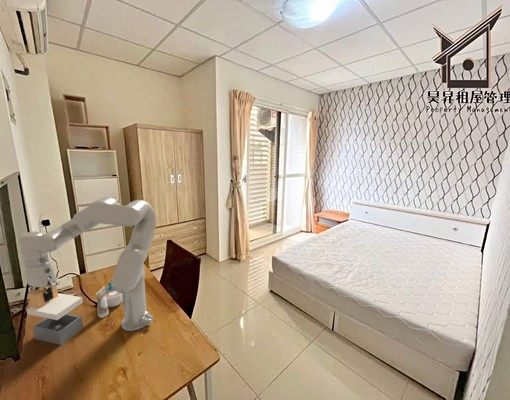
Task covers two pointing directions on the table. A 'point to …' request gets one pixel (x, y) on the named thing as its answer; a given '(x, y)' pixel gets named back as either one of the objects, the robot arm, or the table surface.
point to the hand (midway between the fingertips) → (44, 298)
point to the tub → (58, 329)
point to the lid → (52, 304)
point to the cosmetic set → (107, 301)
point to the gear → (109, 286)
